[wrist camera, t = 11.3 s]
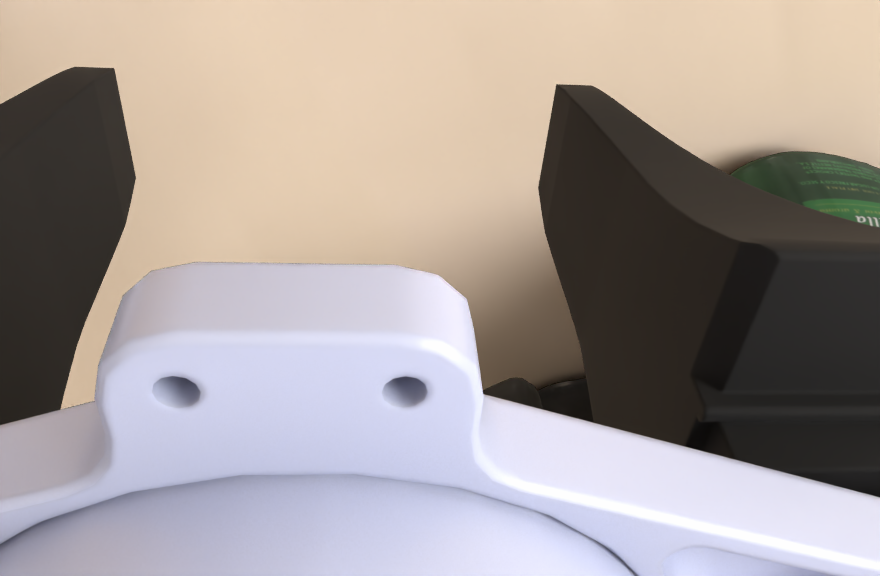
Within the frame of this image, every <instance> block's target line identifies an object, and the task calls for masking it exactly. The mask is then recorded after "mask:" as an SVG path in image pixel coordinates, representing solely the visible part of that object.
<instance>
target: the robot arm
mask: <svg viewBox="0 0 880 576" xmlns="http://www.w3.org/2000/svg"><path fill="white" fill-rule="evenodd" d="M135 179H136V176H135V171H134V166H133V161H132V156H131V151H130V146H129V141H128V136H127V131H126V126H125V121H124V116H123V110H122V105H121V100H120V95H119V90H118V85H117V80H116V75H115V70H114V68H91V67H73V68H70V69H67V70H65V71H62V72H60V73H58V74H56V75H54V76H52V77H50V78H48V79H46V80H44V81H42V82H40V83H39V84H37V85H35V86H33V87H31V88H29V89H28V90H26V91H24V92H22V93H20V94H18V95H17V96H15V97H13V98H11V99H9V100H7V101H6V102H4V103H2V104H0V576H880V227H875V226H871V225H866V224H862V223H858V222H855V221H851V220H848V219H844V218H841V217H837V216H834V215H830V214H827V213H823V212H820V211H817V210H814V209H811V208H808V207H805V206H802V205H799V204H796V203H794V202H791V201H789V200H786V199H784V198H781V197H778V196H776V195H773V194H771V193H768V192H765V191H763V190H761V189H759V188H756V187H754V186H752V185H749V184H747V183H745V182H743V181H741V180H739V179H737V178H735V177H733V176H731V175H729V174H727V173H725V172H723V171H721V170H719V169H717V168H715V167H713V166H712V165H710V164H708V163H706V162H705V161H703V160H701V159H699V158H698V157H696V156H695V155H693V154H691V153H690V152H688V151H687V150H685V149H683V148H682V147H680V146H679V145H677V144H675V143H674V142H673V141H671V140H670V139H668V138H667V137H665V136H664V135H662V134H661V133H659V132H658V131H656V130H655V129H654V128H652V127H651V126H649V125H648V124H647V123H645V122H644V121H643V120H641V119H640V118H638V117H637V116H636V115H634V114H633V113H632V112H630V111H629V110H628V109H626V108H625V107H624V106H622V105H621V104H620V103H618V102H617V101H615V100H614V99H613V98H611V97H610V96H608V95H607V94H605V93H604V92H602V91H601V90H599V89H597V88H595V87H594V86H585V85H558V84H556V90H555V96H554V101H553V107H552V113H551V119H550V124H549V130H548V136H547V141H546V147H545V153H544V158H543V164H542V170H541V175H540V181H539V187H538V189H539V196H540V203H541V210H542V217H543V223H544V229H545V234H546V237H547V241H548V244H549V247H550V250H551V254H552V257H553V260H554V263H555V266H556V269H557V273H558V276H559V279H560V282H561V285H562V288H563V291H564V294H565V297H566V300H567V303H568V307H569V310H570V313H571V316H572V319H573V322H574V325H575V329H576V332H577V336H578V340H579V344H580V348H581V353H582V358H583V364H584V369H585V374H586V380H587V385H588V390H589V396H590V402H591V409H592V415H593V421H594V423H592V422H588V421H585V420H581V419H577V418H573V417H569V416H565V415H561V414H558V413H554V412H550V411H546V410H542V409H538V408H535V407H531V406H527V405H523V404H519V403H515V402H512V401H508V400H504V399H500V398H496V397H492V396H488V395H485V394H483V389H482V382H481V375H480V368H479V361H478V354H477V347H476V340H475V333H474V328H473V323H472V319H471V315H470V310H469V306H468V301H467V299H466V298H465V297H464V296H463V295H461V294H460V293H459V292H458V291H457V290H456V289H454V288H453V287H452V286H451V285H450V284H449V283H447V282H446V281H445V280H444V279H443V278H442V277H440V276H439V275H437V274H433V273H429V272H424V271H420V270H415V269H411V268H407V267H402V266H398V265H371V264H302V263H233V262H193V263H188V264H183V265H178V266H173V267H168V268H163V269H158V270H153V271H150V272H149V273H148V274H147V275H146V276H145V277H144V278H142V279H141V280H140V281H139V282H138V283H137V284H136V285H134V286H133V287H132V288H131V289H130V290H129V291H128V292H126V293H125V294H124V295H123V297H122V300H121V302H120V305H119V308H118V311H117V314H116V317H115V319H114V322H113V325H112V328H111V331H110V334H109V336H108V339H107V342H106V345H105V348H104V350H103V353H102V356H101V359H100V362H99V365H98V372H97V381H96V390H95V401H92V402H88V403H84V404H80V405H77V406H73V407H69V408H65V409H61V410H60V408H61V404H62V400H63V396H64V391H65V388H66V384H67V380H68V377H69V373H70V369H71V365H72V362H73V358H74V354H75V350H76V347H77V344H78V341H79V338H80V335H81V332H82V329H83V327H84V324H85V321H86V319H87V317H88V314H89V312H90V309H91V307H92V305H93V302H94V300H95V298H96V295H97V293H98V290H99V288H100V286H101V283H102V281H103V278H104V276H105V274H106V271H107V269H108V267H109V264H110V262H111V259H112V257H113V255H114V252H115V250H116V247H117V245H118V242H119V240H120V237H121V235H122V232H123V230H124V227H125V224H126V220H127V216H128V212H129V208H130V203H131V199H132V194H133V189H134V184H135Z"/></svg>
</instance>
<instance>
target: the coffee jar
mask: <svg viewBox="0 0 880 576" xmlns="http://www.w3.org/2000/svg"><path fill="white" fill-rule="evenodd" d="M730 175H731V176H733V177H735V178H737V179H739V180H741V181H743V182H745V183H747V184H749V185H752V186H754V187H756V188H759V189H761V190H763V191H765V192H768V193H771V194H773V195H776V196H778V197H781V198H784V199H786V200H789V201H791V202H794V203H796V204H799V205H802V206H805V207H808V208H811V209H814V210H817V211H820V212H823V213H827V214H830V215H834V216H837V217H841V218H844V219H848V220H851V221H855V222H858V223H862V224H866V225H871V226H875V227H880V169H879V168H876V167H873V166H871V165H869V164H867V163H863V162H858V161H855V160H851V159H848V158H845V157H841V156H837V155H830V154H825V153H818V152H792V151H791V152H783V153H778V154H774V155H770V156H767V157H764V158H761V159H758V160H755V161H751V162H750V163H748V164H746V165H744V166H742V167H740V168H738V169H737V170H735V171H734V172H733V173H732V174H730Z"/></svg>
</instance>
